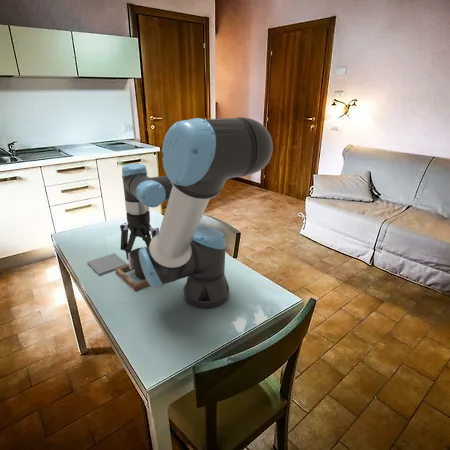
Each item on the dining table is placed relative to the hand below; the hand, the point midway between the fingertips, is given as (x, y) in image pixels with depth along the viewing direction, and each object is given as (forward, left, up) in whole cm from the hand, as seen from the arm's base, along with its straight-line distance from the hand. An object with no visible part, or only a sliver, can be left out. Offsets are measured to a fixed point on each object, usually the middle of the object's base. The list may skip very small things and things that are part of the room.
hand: (143, 269), depth 115 cm
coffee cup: (0, 0, -2) cm, 2 cm away
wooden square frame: (0, 0, -2) cm, 2 cm away
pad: (+15, +7, -2) cm, 17 cm away
